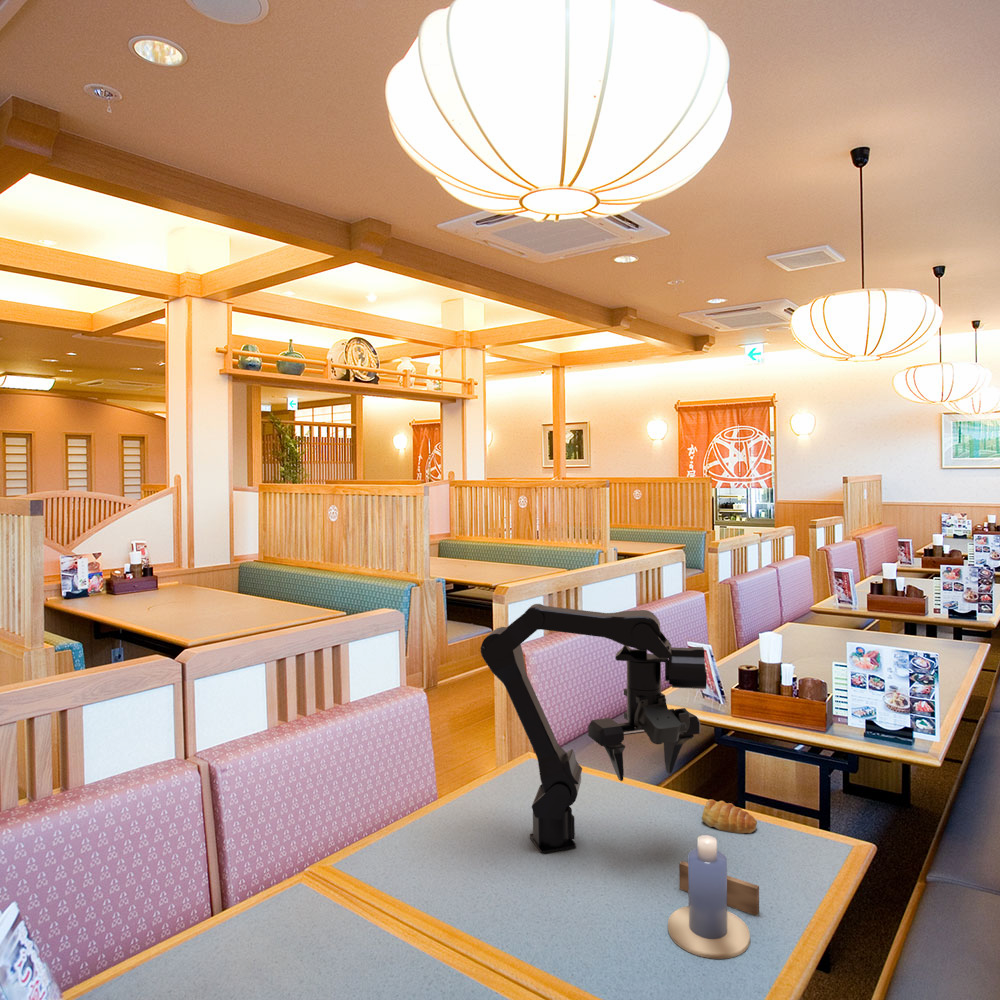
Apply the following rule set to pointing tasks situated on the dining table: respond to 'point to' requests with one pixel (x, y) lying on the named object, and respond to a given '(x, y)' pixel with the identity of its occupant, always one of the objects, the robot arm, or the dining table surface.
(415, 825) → the dining table surface
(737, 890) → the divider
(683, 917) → the disc
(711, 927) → the soy bottle
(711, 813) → the pastry
